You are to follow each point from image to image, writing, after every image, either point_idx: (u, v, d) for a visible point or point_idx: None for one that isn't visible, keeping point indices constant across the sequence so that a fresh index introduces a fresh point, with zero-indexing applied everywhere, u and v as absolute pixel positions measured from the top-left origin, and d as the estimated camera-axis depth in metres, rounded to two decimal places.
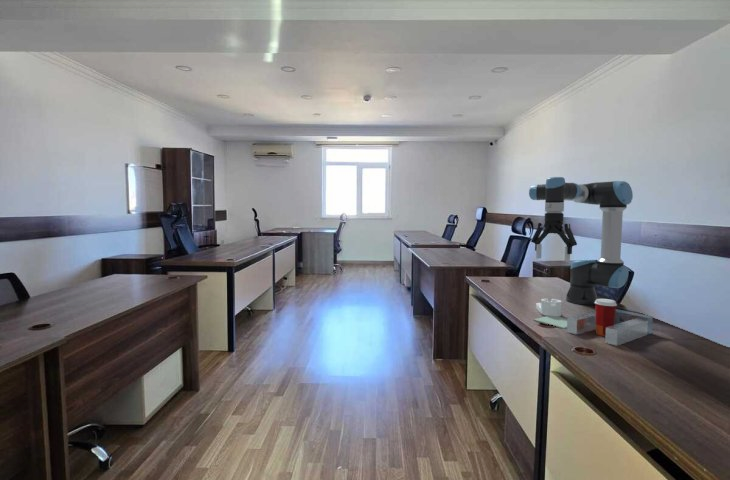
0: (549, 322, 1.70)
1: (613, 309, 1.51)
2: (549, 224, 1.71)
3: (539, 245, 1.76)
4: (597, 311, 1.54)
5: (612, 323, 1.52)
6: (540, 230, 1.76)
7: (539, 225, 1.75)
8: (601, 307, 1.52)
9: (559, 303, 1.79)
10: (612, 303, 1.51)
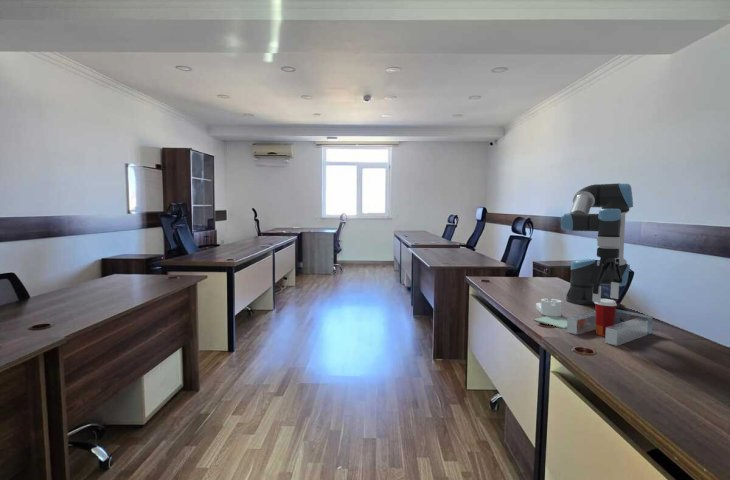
0: (549, 322, 1.70)
1: (613, 309, 1.51)
2: None
3: (613, 283, 1.57)
4: (597, 311, 1.54)
5: (612, 323, 1.52)
6: None
7: None
8: (601, 307, 1.52)
9: (559, 303, 1.79)
10: (612, 303, 1.51)
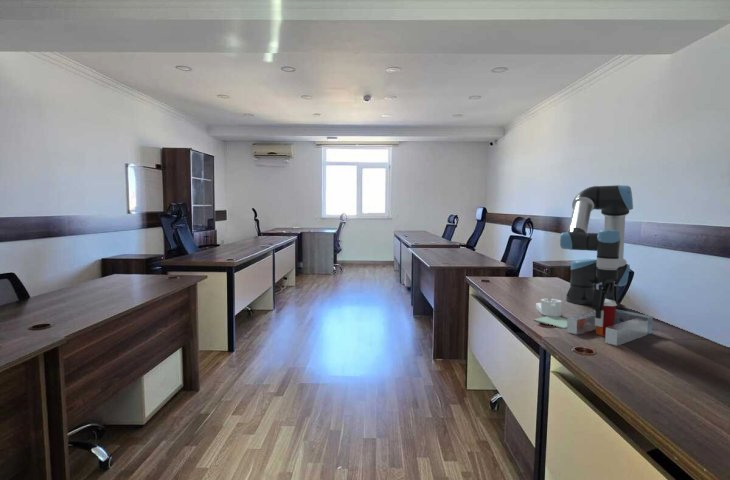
0: (549, 322, 1.70)
1: (613, 309, 1.51)
2: None
3: None
4: None
5: (612, 323, 1.52)
6: None
7: None
8: None
9: (559, 303, 1.79)
10: (612, 303, 1.51)
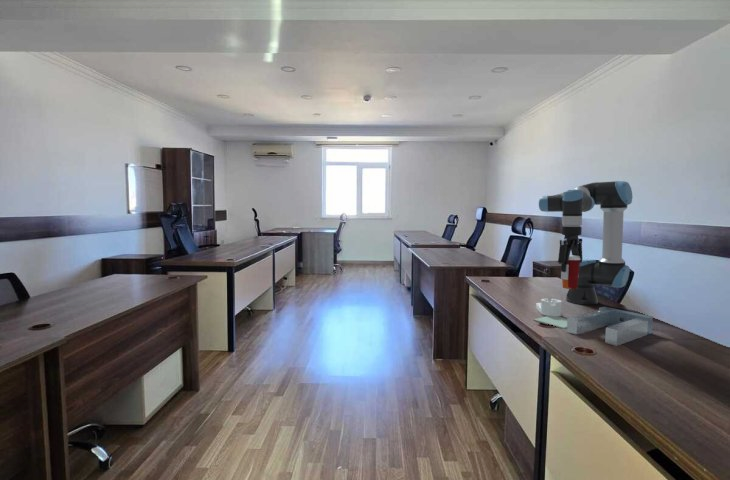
0: (549, 322, 1.70)
1: (577, 263, 1.63)
2: None
3: None
4: None
5: (576, 276, 1.64)
6: (577, 246, 1.68)
7: None
8: None
9: (559, 303, 1.79)
10: (576, 257, 1.62)
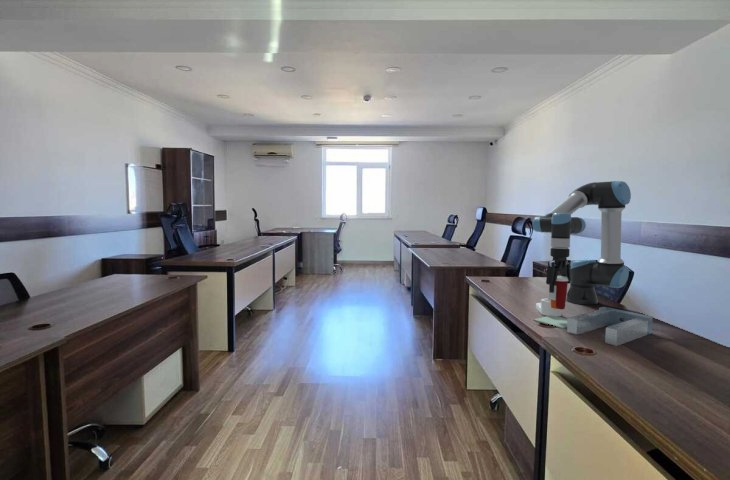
0: (549, 322, 1.70)
1: (565, 284, 1.67)
2: None
3: None
4: None
5: (564, 297, 1.68)
6: None
7: None
8: None
9: None
10: (564, 279, 1.67)
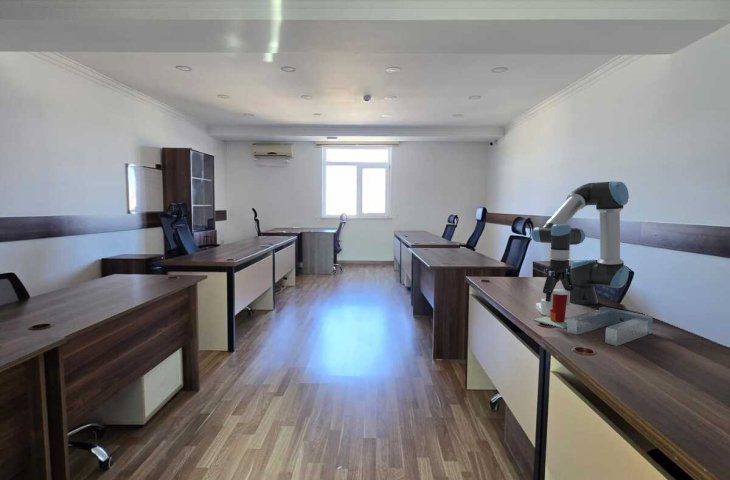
0: (549, 322, 1.70)
1: (564, 297, 1.68)
2: None
3: None
4: None
5: (564, 310, 1.69)
6: (566, 276, 1.74)
7: None
8: (554, 296, 1.69)
9: None
10: (563, 292, 1.68)
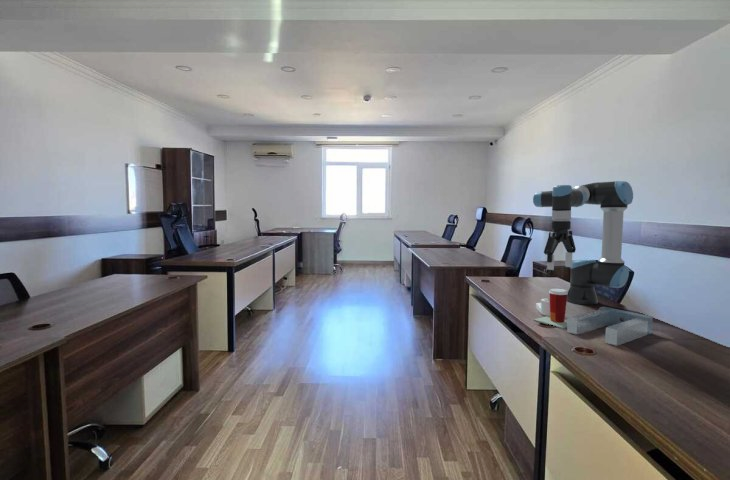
0: (549, 322, 1.70)
1: (564, 298, 1.68)
2: None
3: (567, 253, 1.73)
4: (551, 300, 1.71)
5: (563, 310, 1.69)
6: (568, 238, 1.73)
7: None
8: (554, 296, 1.69)
9: None
10: (563, 292, 1.68)
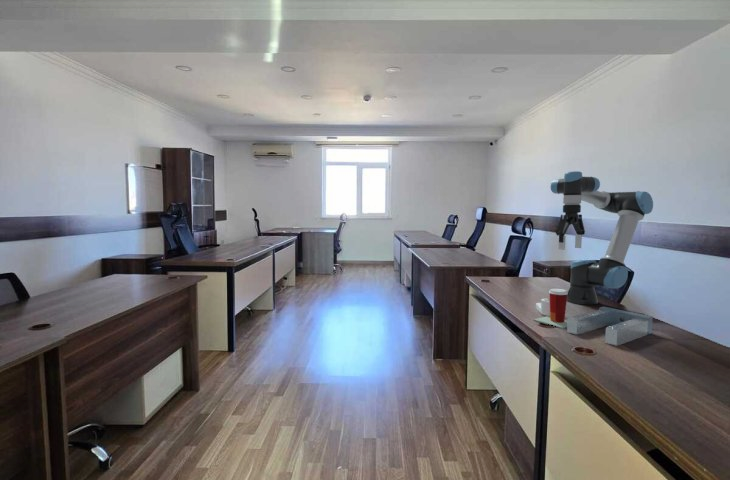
0: (549, 322, 1.70)
1: (564, 298, 1.68)
2: None
3: (577, 235, 1.87)
4: (551, 300, 1.71)
5: (563, 310, 1.69)
6: (578, 221, 1.86)
7: None
8: (554, 296, 1.69)
9: None
10: (563, 292, 1.68)
